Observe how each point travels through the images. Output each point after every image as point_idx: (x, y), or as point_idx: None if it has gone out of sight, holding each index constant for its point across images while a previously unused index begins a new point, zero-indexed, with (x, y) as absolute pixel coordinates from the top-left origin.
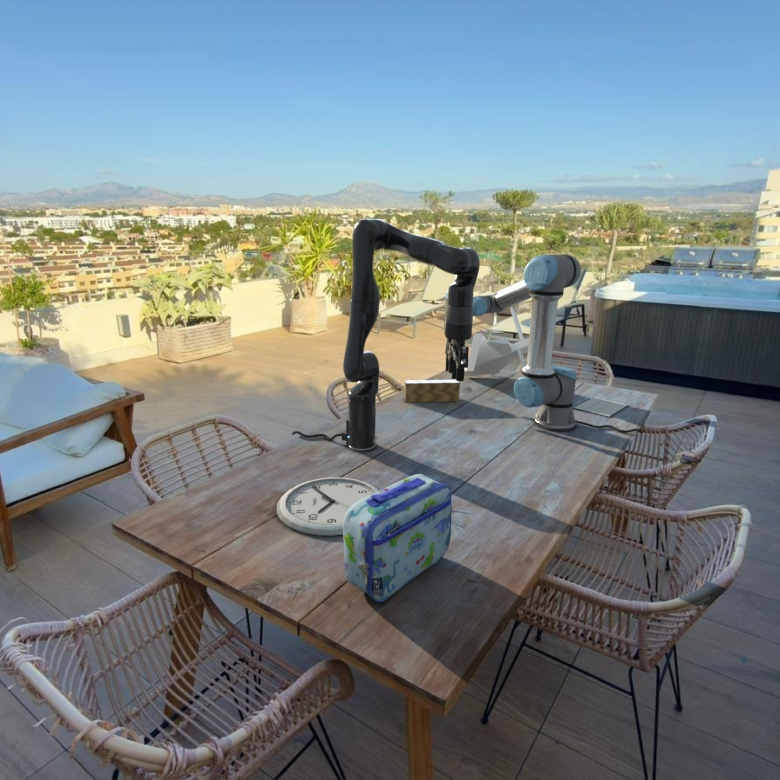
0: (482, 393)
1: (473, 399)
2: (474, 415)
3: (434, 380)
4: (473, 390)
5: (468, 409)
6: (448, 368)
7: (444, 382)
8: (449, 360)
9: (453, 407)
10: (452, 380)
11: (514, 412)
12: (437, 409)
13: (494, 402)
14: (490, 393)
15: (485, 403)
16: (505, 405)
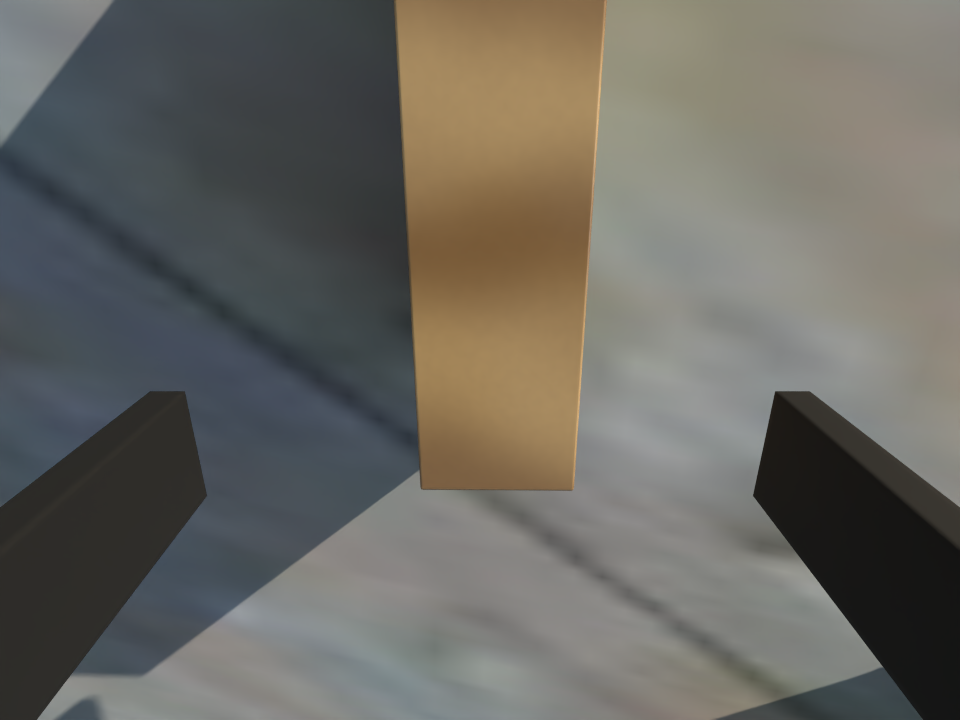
0: (653, 610)
1: (493, 509)
2: (53, 421)
3: (563, 103)
4: (755, 566)
5: (207, 408)
6: (794, 469)
7: (428, 269)
8: (920, 625)
9: (248, 283)
10: (538, 415)
11: (187, 690)
12: (157, 89)
13: (409, 633)
14: (643, 661)
15: (382, 570)
16: (339, 679)
